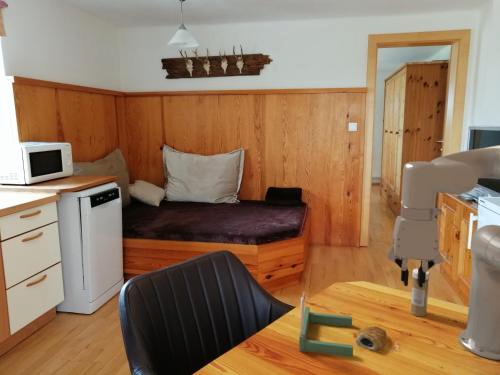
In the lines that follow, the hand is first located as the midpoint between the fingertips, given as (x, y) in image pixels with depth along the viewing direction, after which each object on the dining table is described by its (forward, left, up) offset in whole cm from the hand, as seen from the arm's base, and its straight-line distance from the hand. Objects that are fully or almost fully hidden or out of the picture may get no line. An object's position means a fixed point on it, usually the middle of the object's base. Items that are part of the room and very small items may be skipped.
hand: (412, 283), depth 97 cm
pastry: (+9, 0, -18) cm, 20 cm away
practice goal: (+20, 0, -17) cm, 26 cm away
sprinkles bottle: (-5, -18, -17) cm, 26 cm away
